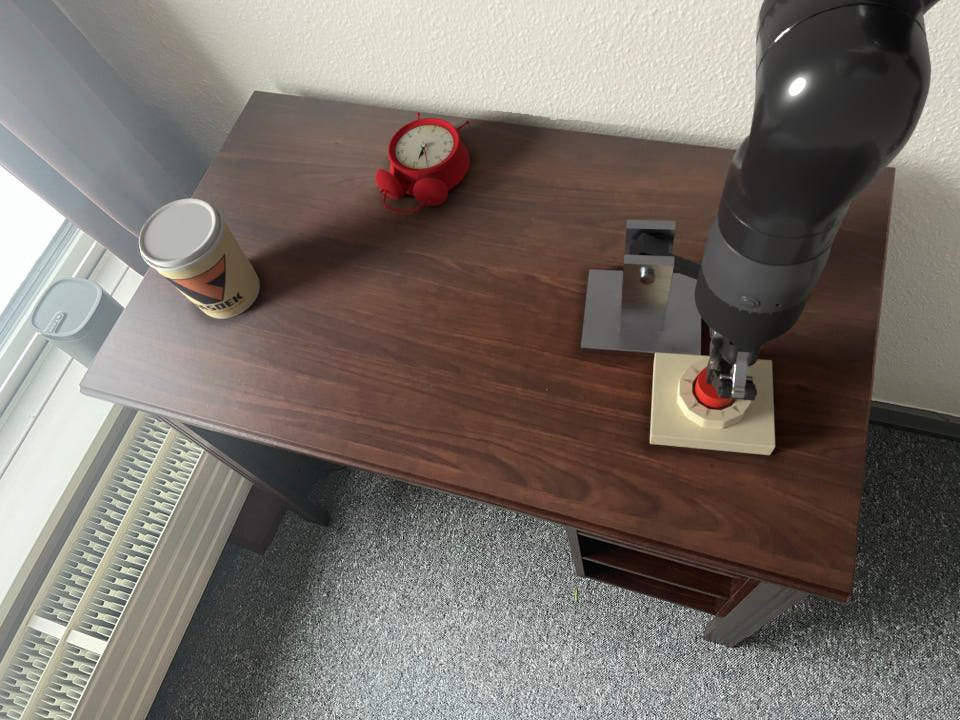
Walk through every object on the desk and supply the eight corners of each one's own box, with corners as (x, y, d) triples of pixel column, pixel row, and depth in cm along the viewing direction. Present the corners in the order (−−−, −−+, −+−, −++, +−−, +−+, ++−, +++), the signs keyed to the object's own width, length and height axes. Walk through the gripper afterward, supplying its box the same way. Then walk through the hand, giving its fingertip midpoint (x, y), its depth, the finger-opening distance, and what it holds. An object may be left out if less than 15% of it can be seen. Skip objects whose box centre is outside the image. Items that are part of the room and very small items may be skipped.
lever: (750, 289, 68) (774, 272, 65) (751, 318, 67) (775, 302, 64) (627, 244, 65) (646, 224, 62) (624, 273, 63) (644, 254, 60)
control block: (767, 370, 67) (776, 351, 64) (770, 455, 63) (780, 439, 60) (653, 362, 70) (656, 343, 66) (649, 444, 66) (652, 428, 62)
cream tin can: (191, 332, 80) (131, 273, 70) (195, 269, 85) (140, 206, 75) (266, 316, 80) (217, 254, 70) (267, 254, 85) (221, 187, 74)
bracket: (700, 280, 74) (719, 200, 62) (699, 361, 69) (719, 291, 58) (589, 275, 76) (588, 197, 65) (580, 352, 71) (578, 284, 60)
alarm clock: (480, 116, 85) (431, 183, 76) (483, 159, 90) (437, 228, 81) (406, 105, 88) (351, 169, 80) (413, 147, 93) (362, 212, 84)
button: (734, 375, 64) (738, 365, 62) (735, 410, 62) (739, 401, 61) (695, 372, 65) (697, 362, 63) (694, 406, 63) (697, 397, 61)
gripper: (826, 352, 42) (764, 450, 57) (813, 190, 48) (760, 318, 63) (701, 344, 44) (673, 442, 59) (703, 188, 50) (677, 313, 65)
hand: (718, 377), depth 61 cm, fingers closed
